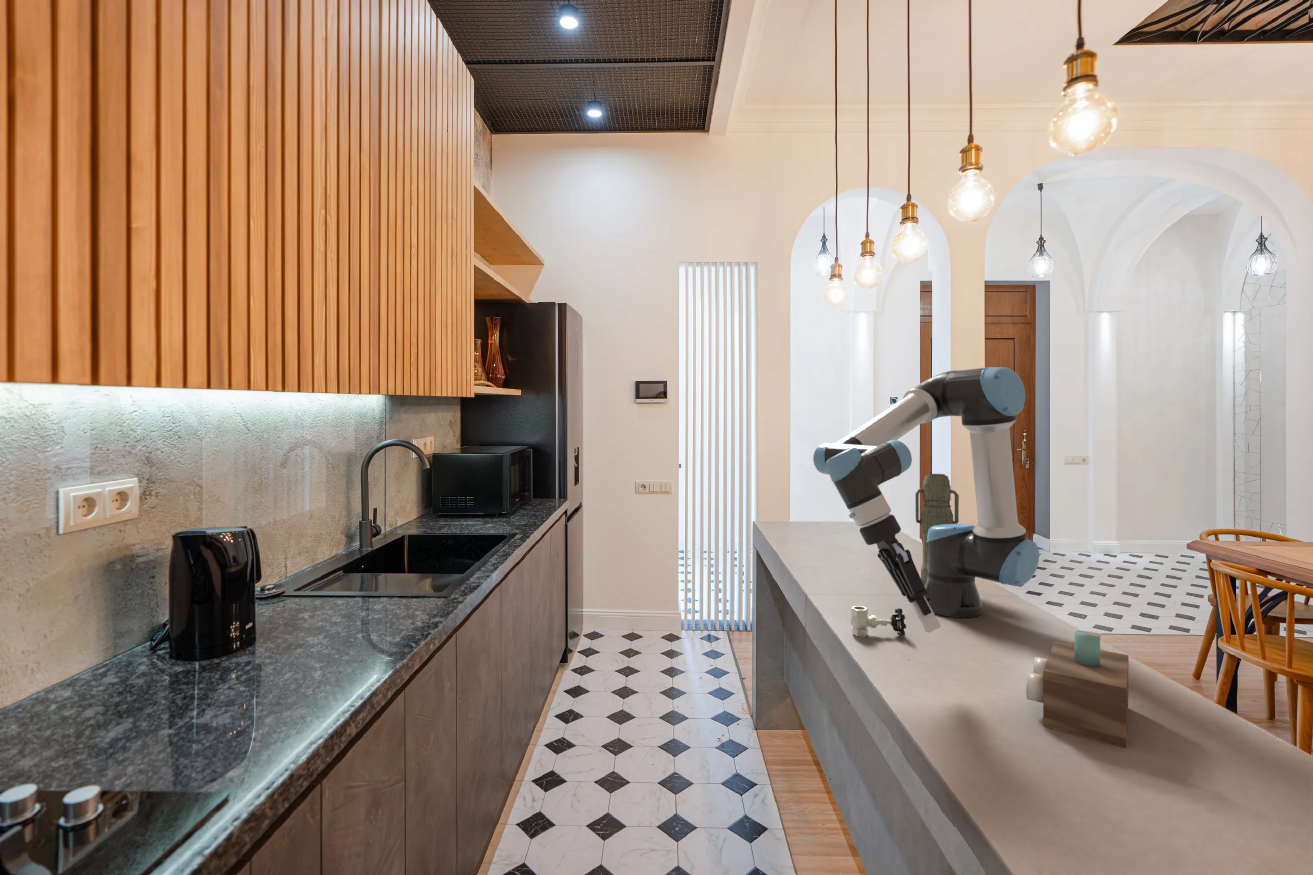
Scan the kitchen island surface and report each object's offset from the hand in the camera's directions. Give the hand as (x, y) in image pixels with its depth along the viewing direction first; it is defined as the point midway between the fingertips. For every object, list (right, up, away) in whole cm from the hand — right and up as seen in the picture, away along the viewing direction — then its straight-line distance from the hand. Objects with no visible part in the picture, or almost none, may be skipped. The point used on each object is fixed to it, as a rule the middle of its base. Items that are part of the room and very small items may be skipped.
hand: (933, 629), depth 118 cm
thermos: (+31, -8, +63) cm, 71 cm away
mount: (+20, -11, -14) cm, 27 cm away
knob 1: (+21, -8, -10) cm, 25 cm away
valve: (-2, -10, +26) cm, 28 cm away
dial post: (+20, -1, -15) cm, 25 cm away
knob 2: (+16, -8, -17) cm, 24 cm away
